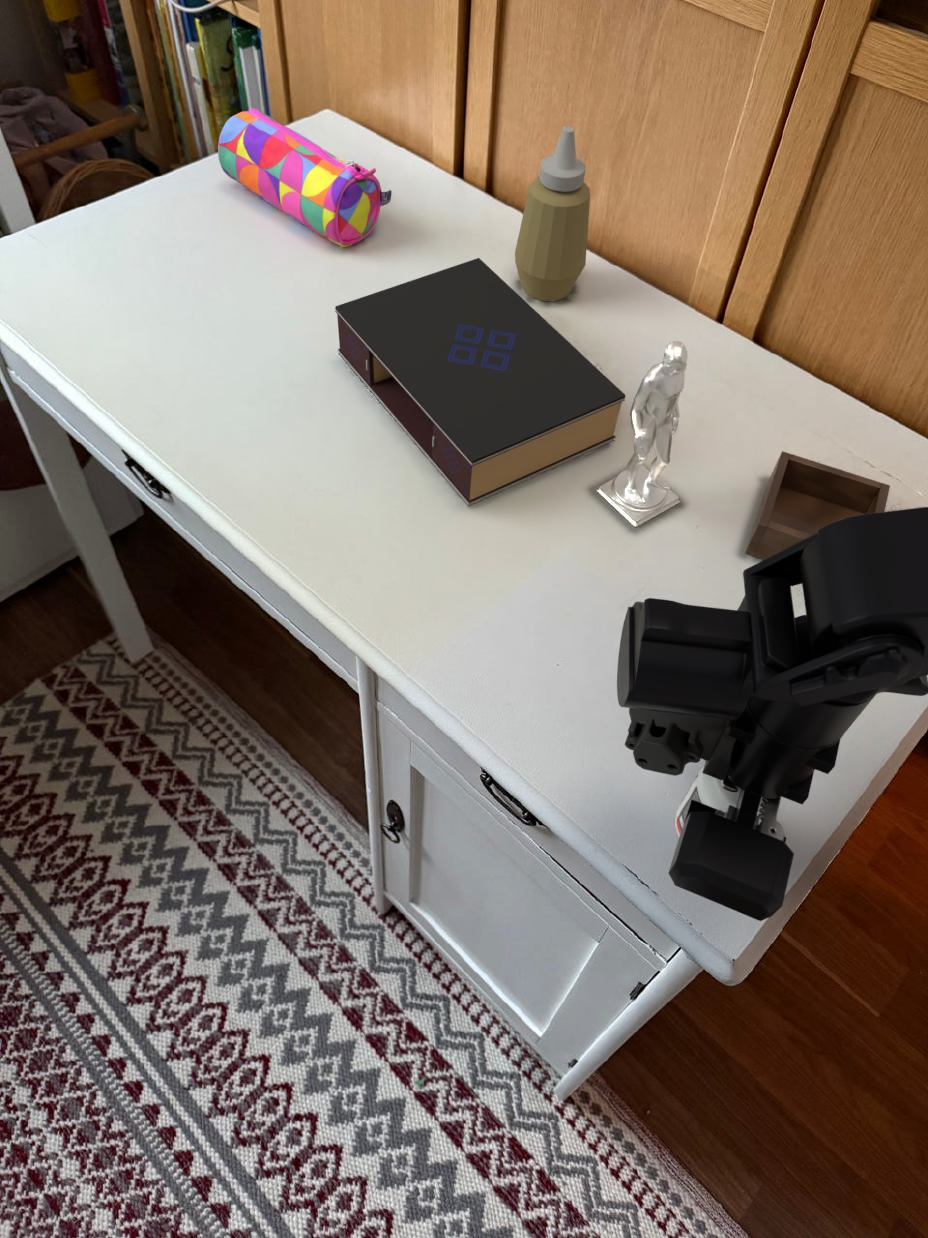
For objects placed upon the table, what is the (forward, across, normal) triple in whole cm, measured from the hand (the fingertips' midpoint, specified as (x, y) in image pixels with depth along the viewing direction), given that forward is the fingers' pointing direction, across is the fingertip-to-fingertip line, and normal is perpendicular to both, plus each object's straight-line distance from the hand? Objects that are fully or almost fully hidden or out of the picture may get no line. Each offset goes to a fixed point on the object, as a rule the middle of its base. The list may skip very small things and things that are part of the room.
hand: (720, 815), depth 63 cm
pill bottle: (+3, 0, 0) cm, 3 cm away
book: (+4, -36, -34) cm, 50 cm away
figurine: (+4, -30, -15) cm, 34 cm away
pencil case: (+4, -59, -66) cm, 89 cm away
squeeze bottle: (+4, -58, -34) cm, 67 cm away
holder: (+4, -34, +2) cm, 34 cm away
